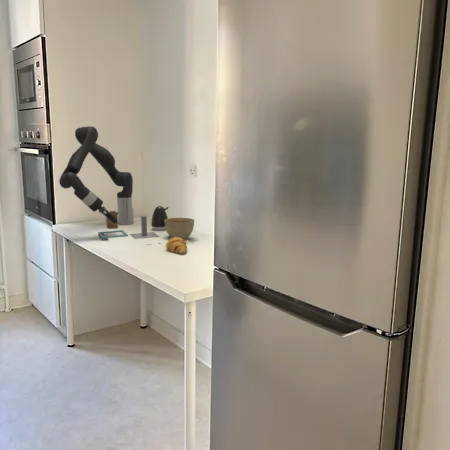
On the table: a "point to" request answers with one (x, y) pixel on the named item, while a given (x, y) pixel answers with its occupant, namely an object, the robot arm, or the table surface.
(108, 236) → the tray
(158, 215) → the black electric kettle
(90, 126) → the robot arm
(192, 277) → the table surface
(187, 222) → the planter bowl
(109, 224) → the collar
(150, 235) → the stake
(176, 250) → the croissant
